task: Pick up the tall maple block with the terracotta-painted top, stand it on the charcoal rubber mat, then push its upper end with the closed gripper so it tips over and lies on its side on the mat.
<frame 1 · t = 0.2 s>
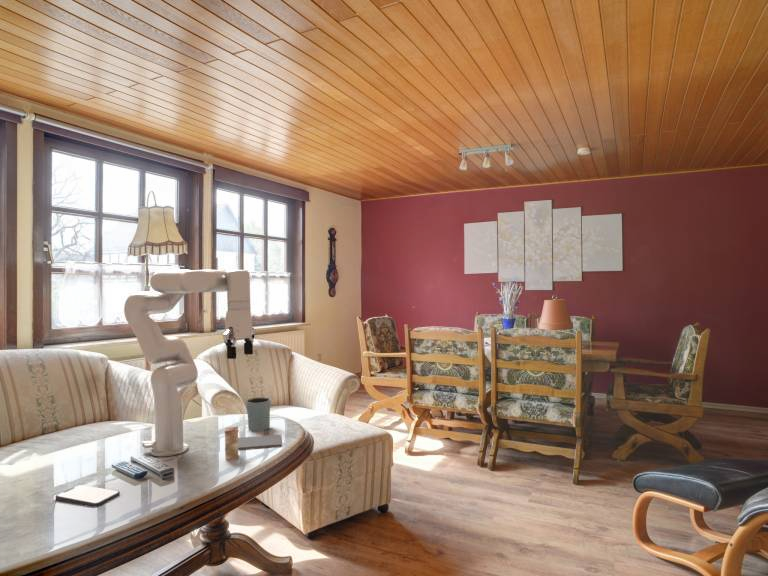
hand: (240, 356, 170), 36 cm above the table, tool pointing down, fingers open, 9 cm apart
grey-green cup: (258, 428, 209), on the table
maple block: (232, 456, 176), on the table
mat: (254, 443, 190), on the table
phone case: (88, 499, 144), on the table
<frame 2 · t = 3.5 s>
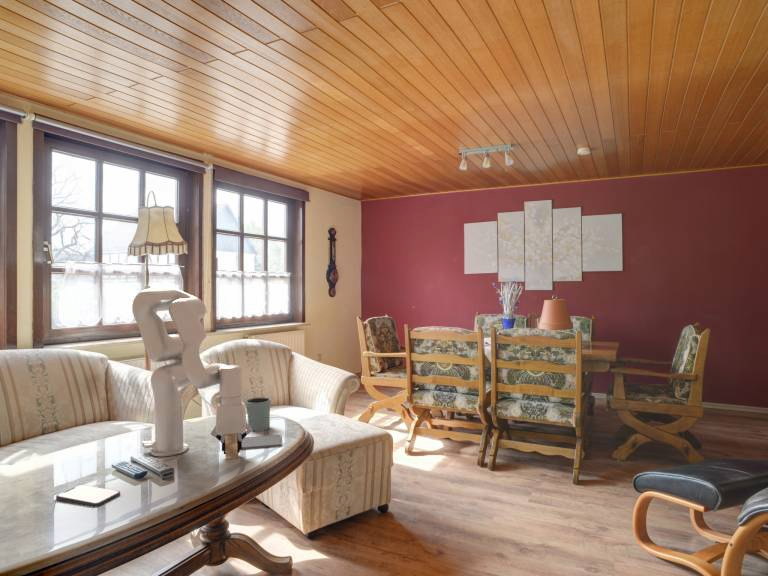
hand: (231, 451, 176), 2 cm above the table, tool pointing down, fingers closed on maple block, 4 cm apart
maple block: (232, 456, 176), on the table, touching gripper
everything else where it was.
when the fingers open (4 cm above the table, at t = 8.4 s): maple block stays where it is, resting on mat.
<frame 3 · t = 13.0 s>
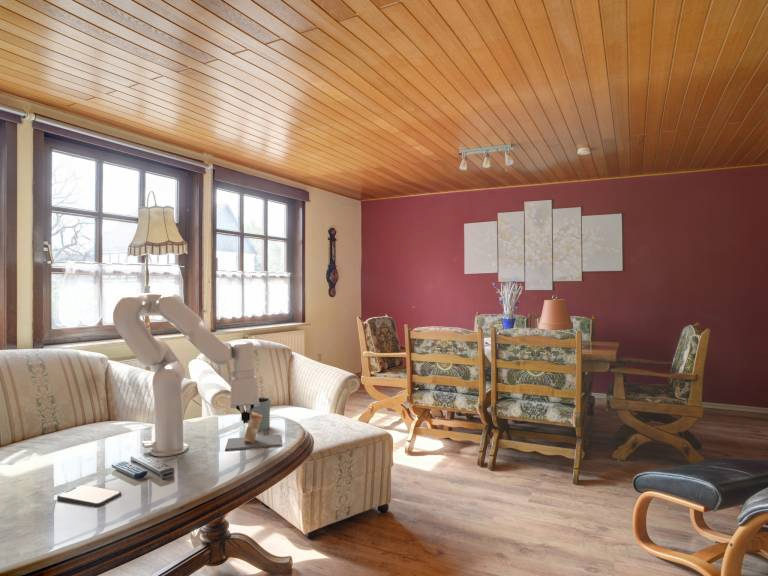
hand: (245, 422, 189), 8 cm above the table, tool pointing down, fingers closed
maple block: (248, 440, 189), point 1 cm above the table, tilted 19°, touching mat
everything else where it was.
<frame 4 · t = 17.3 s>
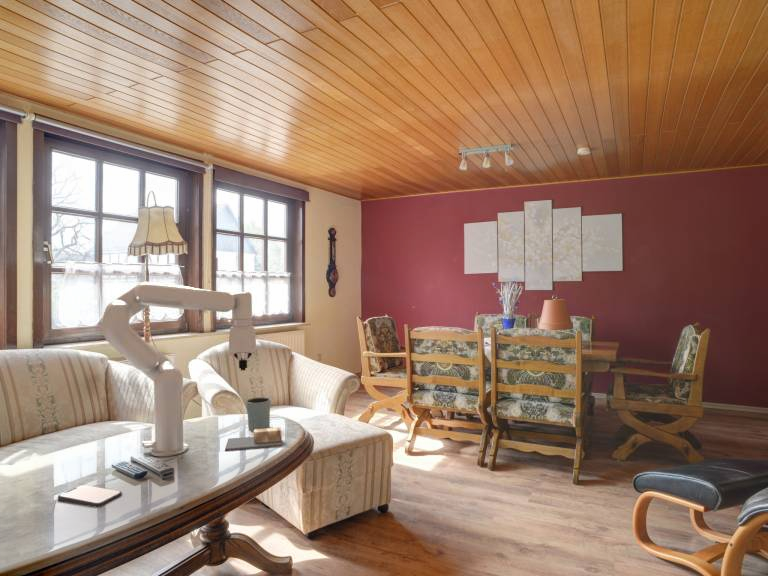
hand: (243, 369, 195), 27 cm above the table, tool pointing down, fingers closed
maple block: (254, 436, 190), point 3 cm above the table, tilted 90°, touching mat
everything else where it was.
at the end: maple block tilted 90°; maple block inside the target area (3.0 cm from its centre), point 2.8 cm above the table; maple block touching mat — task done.
